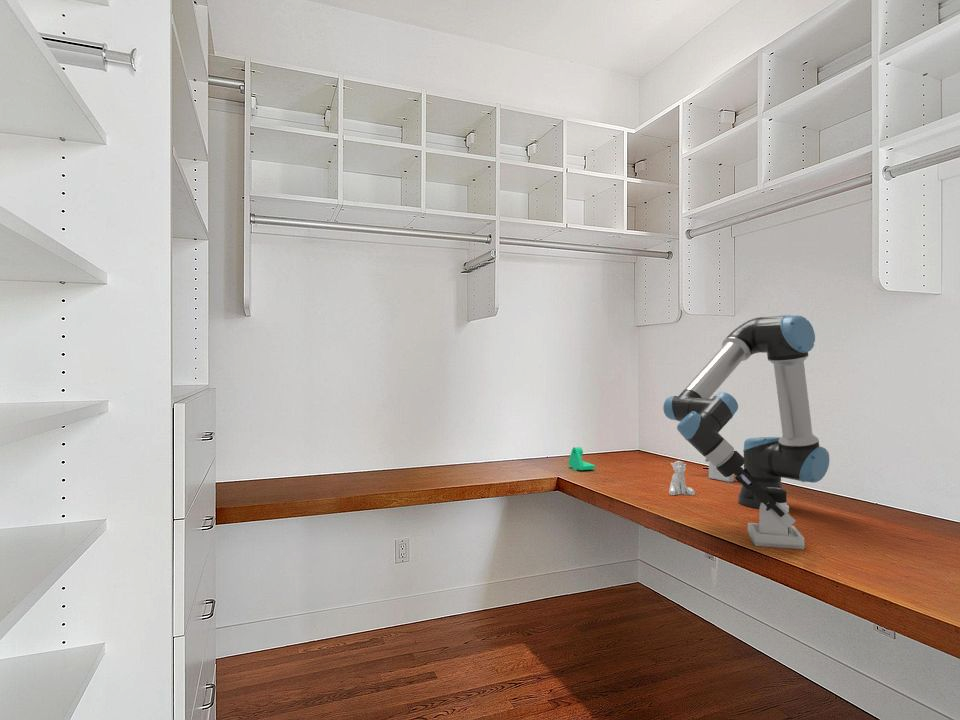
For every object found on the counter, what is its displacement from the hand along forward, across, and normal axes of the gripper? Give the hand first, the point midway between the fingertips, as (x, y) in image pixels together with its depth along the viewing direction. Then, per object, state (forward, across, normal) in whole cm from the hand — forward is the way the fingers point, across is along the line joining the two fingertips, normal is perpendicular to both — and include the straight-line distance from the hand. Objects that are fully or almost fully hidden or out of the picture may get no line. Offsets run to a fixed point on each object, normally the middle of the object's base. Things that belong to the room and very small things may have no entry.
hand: (788, 519), depth 162 cm
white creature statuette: (-14, -54, -23) cm, 60 cm away
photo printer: (-1, -84, -10) cm, 85 cm away
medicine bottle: (0, 0, -5) cm, 5 cm away
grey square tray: (+2, 0, -7) cm, 7 cm away
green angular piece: (-43, -93, -52) cm, 115 cm away
